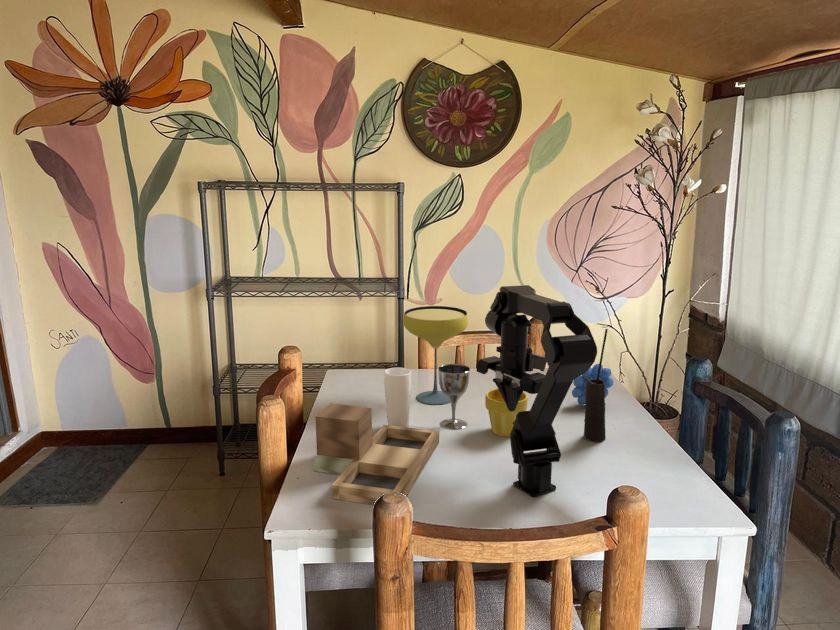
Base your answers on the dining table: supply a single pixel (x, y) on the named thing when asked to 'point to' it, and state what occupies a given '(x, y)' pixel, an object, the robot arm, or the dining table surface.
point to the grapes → (591, 375)
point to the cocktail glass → (435, 337)
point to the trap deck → (381, 464)
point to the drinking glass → (397, 396)
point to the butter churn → (595, 406)
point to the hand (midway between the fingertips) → (511, 410)
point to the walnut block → (344, 431)
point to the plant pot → (502, 412)
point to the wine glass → (453, 390)
